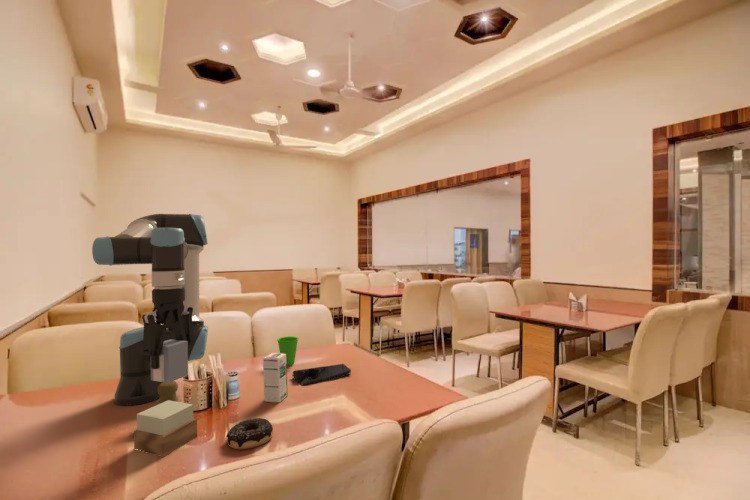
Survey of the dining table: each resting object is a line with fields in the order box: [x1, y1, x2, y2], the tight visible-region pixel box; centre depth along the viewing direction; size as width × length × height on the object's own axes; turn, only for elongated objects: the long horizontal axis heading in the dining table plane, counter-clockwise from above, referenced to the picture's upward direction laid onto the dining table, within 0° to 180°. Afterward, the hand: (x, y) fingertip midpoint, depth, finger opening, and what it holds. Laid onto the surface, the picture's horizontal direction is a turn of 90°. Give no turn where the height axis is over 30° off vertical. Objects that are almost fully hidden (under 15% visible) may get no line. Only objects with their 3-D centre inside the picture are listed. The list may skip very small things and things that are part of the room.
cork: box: [158, 380, 179, 404], centre depth 109 cm, size 6×6×11 cm
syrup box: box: [262, 352, 288, 403], centre depth 123 cm, size 6×6×14 cm
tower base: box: [133, 417, 198, 457], centre depth 96 cm, size 10×10×5 cm
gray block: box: [151, 339, 189, 383], centre depth 96 cm, size 6×6×9 cm
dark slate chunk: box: [292, 363, 352, 386], centre depth 145 cm, size 15×22×5 cm
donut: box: [225, 417, 274, 450], centre depth 97 cm, size 11×12×4 cm
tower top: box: [136, 400, 194, 436], centre depth 96 cm, size 9×9×4 cm
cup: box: [276, 336, 300, 367], centre depth 160 cm, size 9×9×11 cm
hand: (170, 376), depth 96 cm, fingers closed on gray block, 6 cm apart
